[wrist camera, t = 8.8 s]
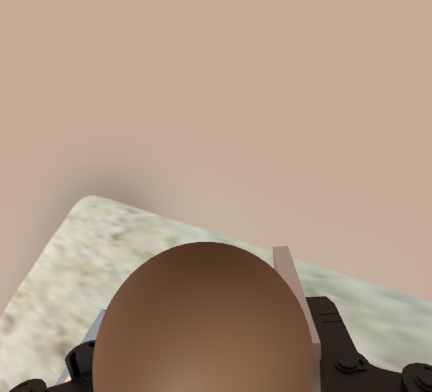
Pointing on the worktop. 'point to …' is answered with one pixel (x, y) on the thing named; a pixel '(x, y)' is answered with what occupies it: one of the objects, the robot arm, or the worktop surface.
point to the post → (204, 327)
